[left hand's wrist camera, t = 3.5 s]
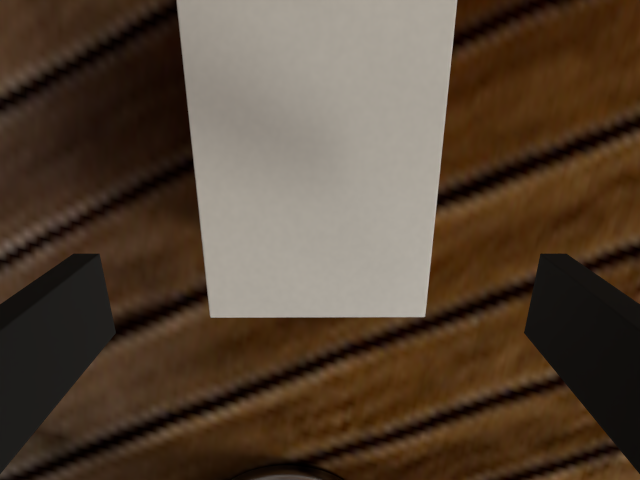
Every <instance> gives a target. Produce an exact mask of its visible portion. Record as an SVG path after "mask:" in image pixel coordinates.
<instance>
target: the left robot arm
mask: <svg viewBox="0 0 640 480" xmlns="http://www.w3.org/2000/svg"><path fill="white" fill-rule="evenodd" d="M115 333H116V332H115V327H114V322H113V317H112V312H111V308H110V303H109V298H108V293H107V288H106V283H105V278H104V274H103V269H102V264H101V259H100V254H73V255H71V256H70V257H68V258H67V259H65V260H64V261H62V262H61V263H60V264H58V265H57V266H55V267H54V268H52V269H51V270H49V271H48V272H47V273H45V274H44V275H42V276H41V277H39V278H38V279H36V280H35V281H33V282H32V283H31V284H29V285H28V286H26V287H25V288H23V289H22V290H20V291H19V292H18V293H16V294H15V295H13V296H12V297H10V298H9V299H7V300H6V301H5V302H3V303H2V304H0V474H1V472H2V471H3V470H4V469H5V467H6V466H7V465H8V464H9V463H10V461H11V460H12V459H13V458H14V457H15V455H16V454H17V453H18V452H19V450H20V449H21V448H22V447H23V446H24V444H25V443H26V442H27V441H28V439H29V438H30V437H31V436H32V435H33V433H34V432H35V431H36V430H37V428H38V427H39V426H40V425H41V424H42V422H43V421H44V420H45V419H46V417H47V416H48V415H49V414H50V413H51V411H52V410H53V409H54V408H55V406H56V405H57V404H58V403H59V402H60V400H61V399H62V398H63V397H64V396H65V394H66V393H67V392H68V391H69V389H70V388H71V387H72V386H73V385H74V383H75V382H76V381H77V380H78V378H79V377H80V376H81V375H82V374H83V372H84V371H85V370H86V369H87V367H88V366H89V365H90V364H91V363H92V361H93V360H94V359H95V358H96V356H97V355H98V354H99V353H100V352H101V350H102V349H103V348H104V347H105V345H106V344H107V343H108V342H109V341H110V339H111V338H112V337H113V336H114V334H115ZM524 333H525V334H526V336H527V337H528V338H529V339H530V341H531V342H532V343H533V344H534V345H535V347H536V348H537V349H538V350H539V352H540V353H541V354H542V355H543V356H544V358H545V359H546V360H547V361H548V363H549V364H550V365H551V366H552V367H553V369H554V370H555V371H556V372H557V374H558V375H559V376H560V377H561V378H562V380H563V381H564V382H565V383H566V385H567V386H568V387H569V388H570V389H571V391H572V392H573V393H574V394H575V396H576V397H577V398H578V399H579V400H580V402H581V403H582V404H583V405H584V406H585V408H586V409H587V410H588V411H589V413H590V414H591V415H592V416H593V417H594V419H595V420H596V421H597V422H598V424H599V425H600V426H601V427H602V428H603V430H604V431H605V432H606V433H607V435H608V436H609V437H610V438H611V439H612V441H613V442H614V443H615V444H616V446H617V447H618V448H619V449H620V450H621V452H622V453H623V454H624V455H625V457H626V458H627V459H628V460H629V461H630V463H631V464H632V465H633V466H634V467H635V469H636V470H637V471H638V472H639V474H640V304H638V303H637V302H635V301H634V300H633V299H631V298H630V297H628V296H627V295H625V294H624V293H622V292H621V291H620V290H618V289H617V288H615V287H614V286H612V285H611V284H609V283H608V282H607V281H605V280H604V279H602V278H601V277H599V276H598V275H596V274H595V273H593V272H592V271H591V270H589V269H588V268H586V267H585V266H583V265H582V264H580V263H579V262H578V261H576V260H575V259H573V258H572V257H570V256H569V255H567V254H540V259H539V264H538V269H537V274H536V278H535V283H534V288H533V293H532V298H531V303H530V308H529V312H528V317H527V322H526V327H525V332H524ZM231 480H342V479H341V478H339V477H337V476H335V475H333V474H330V473H328V472H325V471H322V470H319V469H315V468H310V467H304V466H295V465H278V466H269V467H263V468H259V469H255V470H252V471H249V472H246V473H243V474H241V475H239V476H237V477H235V478H233V479H231Z"/></svg>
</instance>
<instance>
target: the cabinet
mask: <svg viewBox="0 0 640 480" xmlns="http://www.w3.org/2000/svg"><path fill="white" fill-rule="evenodd" d="M176 2H177V11H178V20H179V30H180V39H181V49H182V58H183V67H184V77H185V86H186V95H187V105H188V114H189V124H190V133H191V142H192V152H193V161H194V171H195V180H196V189H197V199H198V208H199V217H200V227H201V236H202V246H203V255H204V264H205V274H206V283H207V292H208V302H209V311H210V317H425V312H426V303H427V293H428V283H429V273H430V263H431V253H432V243H433V234H434V224H435V214H436V204H437V194H438V184H439V174H440V165H441V155H442V145H443V135H444V125H445V115H446V105H447V96H448V86H449V76H450V66H451V56H452V46H453V36H454V27H455V17H456V7H457V0H176Z"/></svg>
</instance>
